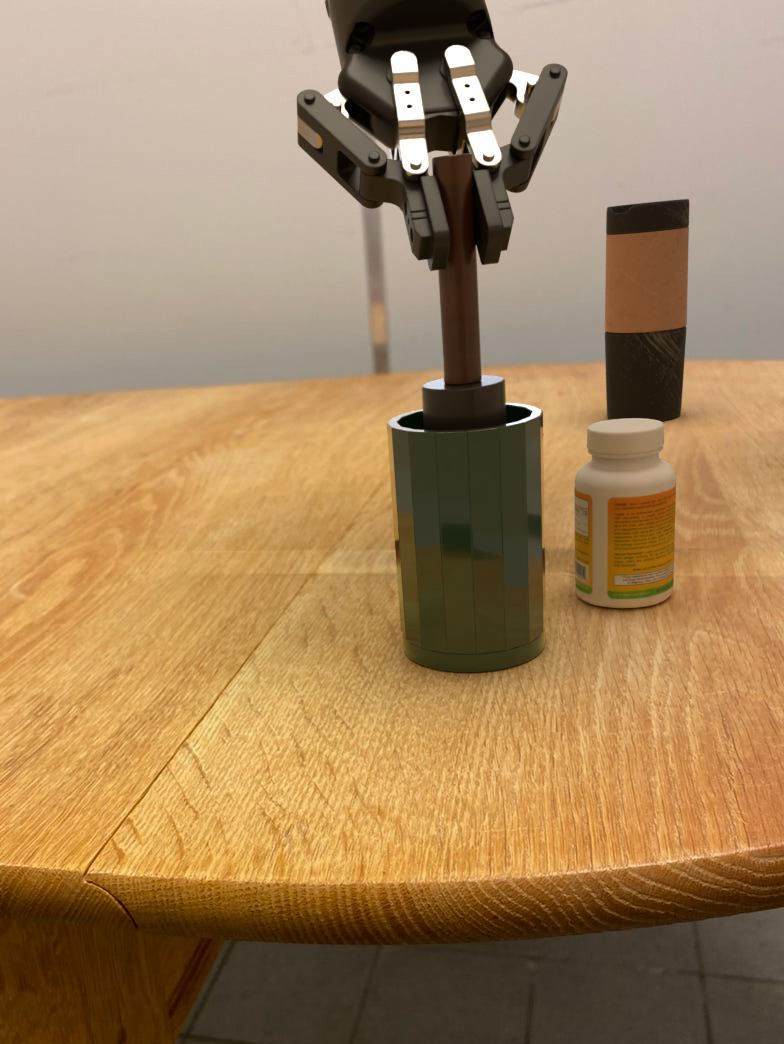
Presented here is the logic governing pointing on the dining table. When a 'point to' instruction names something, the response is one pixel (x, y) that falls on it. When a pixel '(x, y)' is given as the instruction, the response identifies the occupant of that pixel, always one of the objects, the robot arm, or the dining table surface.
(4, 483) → the dining table surface
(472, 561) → the cup
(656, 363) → the travel mug
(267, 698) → the dining table surface
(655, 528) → the supplement bottle
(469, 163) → the peg on round base
